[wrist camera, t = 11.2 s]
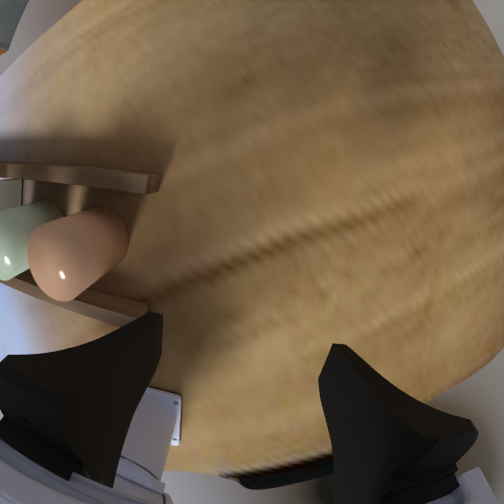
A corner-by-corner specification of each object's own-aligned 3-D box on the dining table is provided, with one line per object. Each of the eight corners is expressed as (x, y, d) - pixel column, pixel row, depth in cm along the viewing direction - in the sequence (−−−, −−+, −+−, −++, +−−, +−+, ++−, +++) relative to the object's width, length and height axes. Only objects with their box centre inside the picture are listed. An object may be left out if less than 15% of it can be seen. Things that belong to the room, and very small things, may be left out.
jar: (128, 272, 21) (87, 309, 15) (78, 263, 21) (32, 292, 14) (129, 209, 20) (82, 227, 13) (77, 204, 19) (25, 219, 13)
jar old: (66, 260, 21) (20, 287, 14) (30, 249, 20) (-16, 272, 14) (67, 203, 19) (14, 217, 13) (29, 197, 19) (-21, 210, 13)
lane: (147, 315, 22) (132, 339, 18) (-14, 262, 21) (-34, 272, 17) (160, 174, 19) (141, 176, 15) (-15, 161, 18) (-38, 164, 14)
